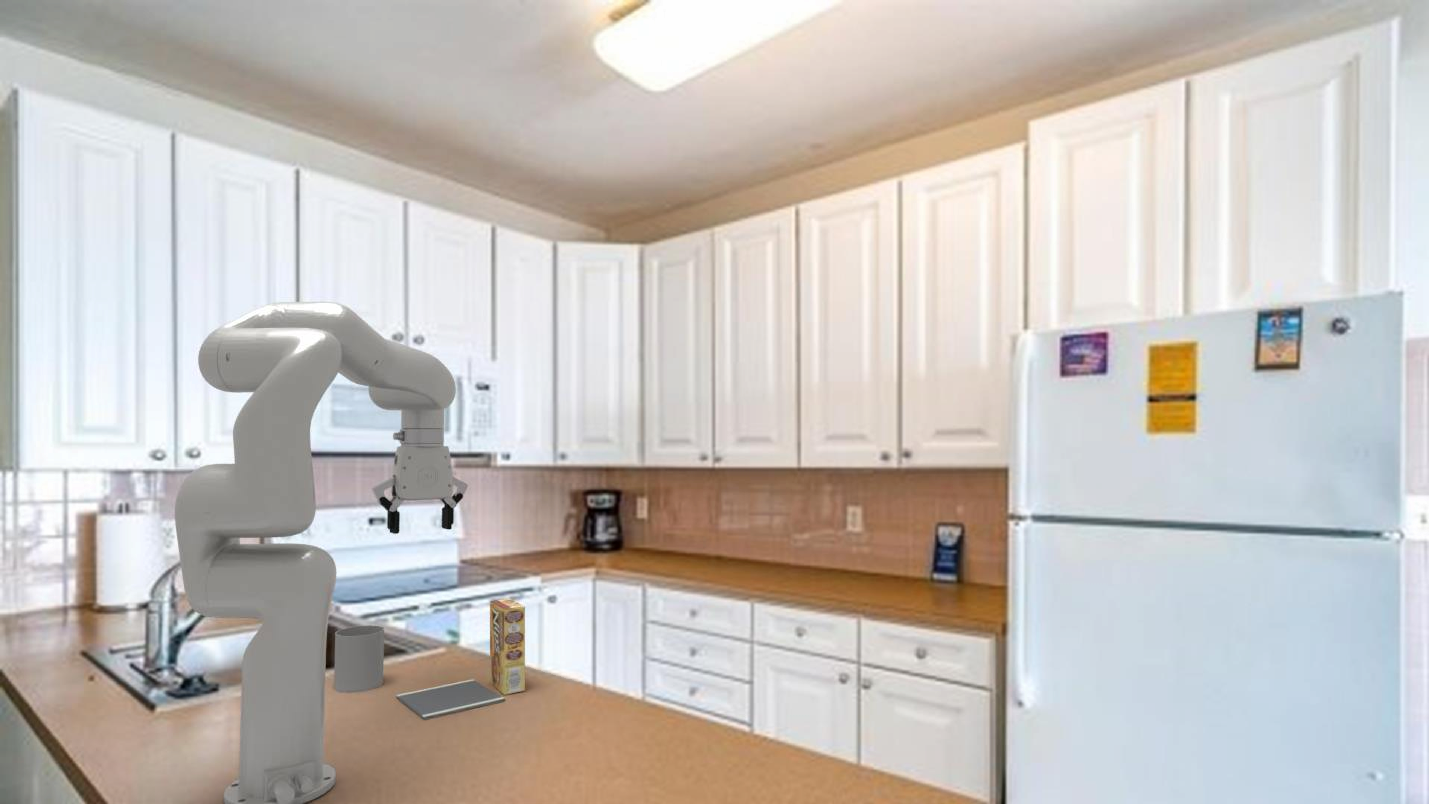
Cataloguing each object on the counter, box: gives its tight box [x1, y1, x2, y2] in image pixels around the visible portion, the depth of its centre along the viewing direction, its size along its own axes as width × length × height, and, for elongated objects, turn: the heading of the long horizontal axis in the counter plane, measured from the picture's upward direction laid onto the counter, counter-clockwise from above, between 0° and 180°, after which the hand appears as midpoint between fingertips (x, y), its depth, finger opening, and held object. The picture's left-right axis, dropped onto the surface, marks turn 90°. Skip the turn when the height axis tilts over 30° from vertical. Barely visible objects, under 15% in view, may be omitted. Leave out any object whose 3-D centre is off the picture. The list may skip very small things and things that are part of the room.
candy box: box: [489, 598, 526, 696], centre depth 141 cm, size 9×4×15 cm, turn 34°
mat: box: [395, 678, 506, 720], centre depth 134 cm, size 14×14×1 cm
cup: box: [333, 624, 385, 694], centre depth 142 cm, size 8×8×10 cm
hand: (421, 530), depth 142 cm, fingers open, 9 cm apart
